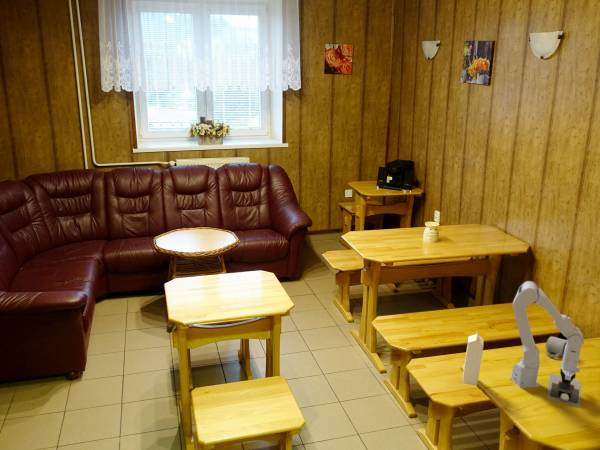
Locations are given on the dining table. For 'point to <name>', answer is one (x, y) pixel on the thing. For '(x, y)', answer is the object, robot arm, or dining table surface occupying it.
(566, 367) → the robot arm
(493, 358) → the dining table surface
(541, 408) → the dining table surface
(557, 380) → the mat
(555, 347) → the ceramic mug
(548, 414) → the dining table surface
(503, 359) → the dining table surface
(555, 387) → the hitch block
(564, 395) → the pin
